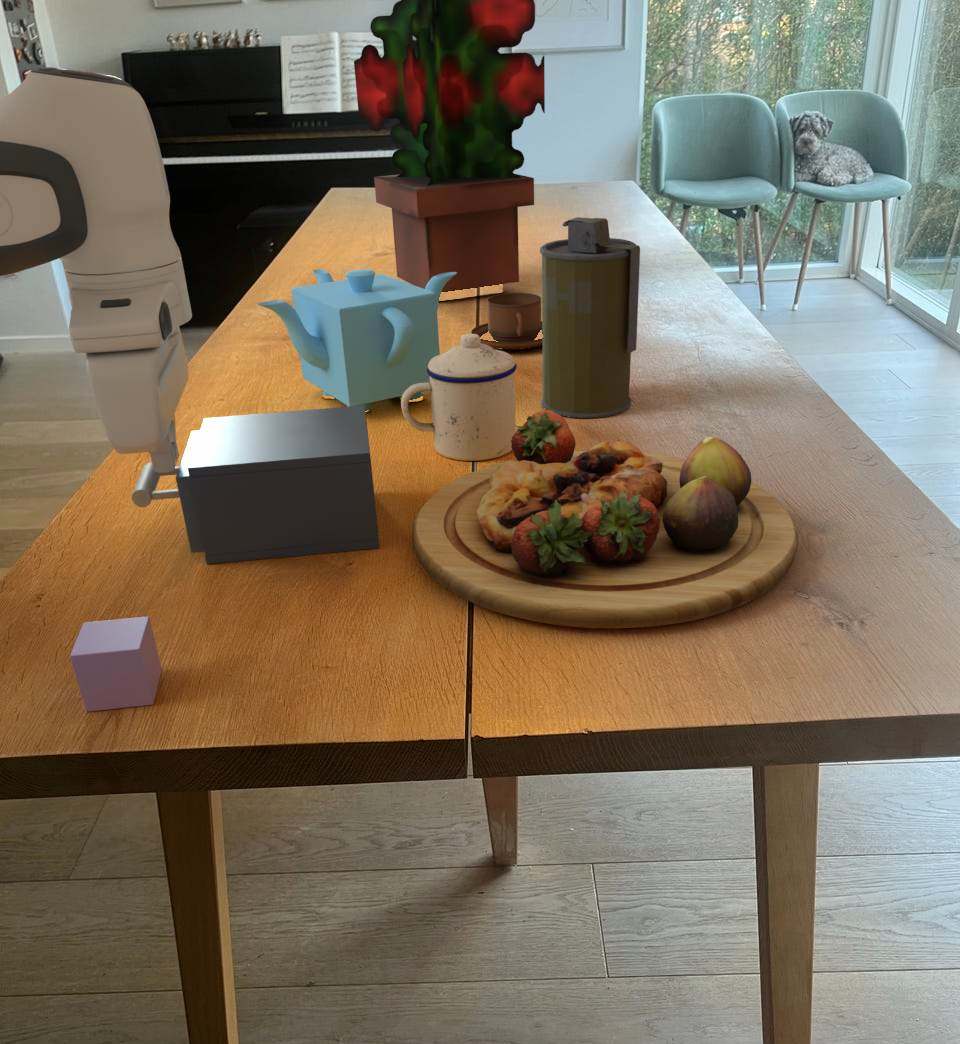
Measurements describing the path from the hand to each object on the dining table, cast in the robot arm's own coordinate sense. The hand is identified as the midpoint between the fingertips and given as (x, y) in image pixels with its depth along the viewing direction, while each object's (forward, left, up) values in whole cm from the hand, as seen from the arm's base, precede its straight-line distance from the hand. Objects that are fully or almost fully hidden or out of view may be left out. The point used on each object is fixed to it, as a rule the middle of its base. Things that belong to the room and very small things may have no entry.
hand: (167, 466), depth 88 cm
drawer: (+6, 0, -6) cm, 8 cm away
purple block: (-1, -25, -7) cm, 26 cm away
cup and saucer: (+39, +55, -7) cm, 68 cm away
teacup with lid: (+27, +16, -7) cm, 32 cm away
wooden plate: (+36, -9, -7) cm, 38 cm away
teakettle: (+18, +37, -7) cm, 42 cm away
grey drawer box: (+10, 0, -7) cm, 12 cm away
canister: (+43, +27, -7) cm, 51 cm away
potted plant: (+35, +91, -7) cm, 98 cm away
